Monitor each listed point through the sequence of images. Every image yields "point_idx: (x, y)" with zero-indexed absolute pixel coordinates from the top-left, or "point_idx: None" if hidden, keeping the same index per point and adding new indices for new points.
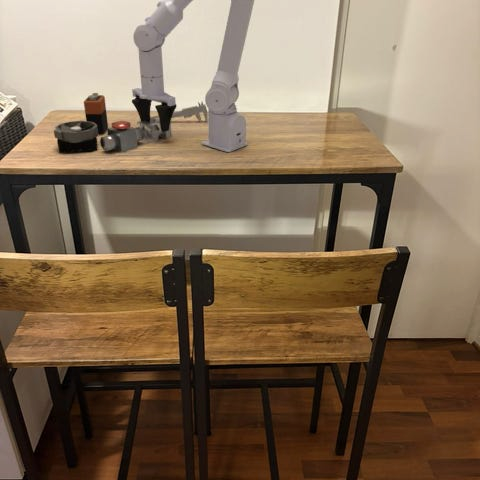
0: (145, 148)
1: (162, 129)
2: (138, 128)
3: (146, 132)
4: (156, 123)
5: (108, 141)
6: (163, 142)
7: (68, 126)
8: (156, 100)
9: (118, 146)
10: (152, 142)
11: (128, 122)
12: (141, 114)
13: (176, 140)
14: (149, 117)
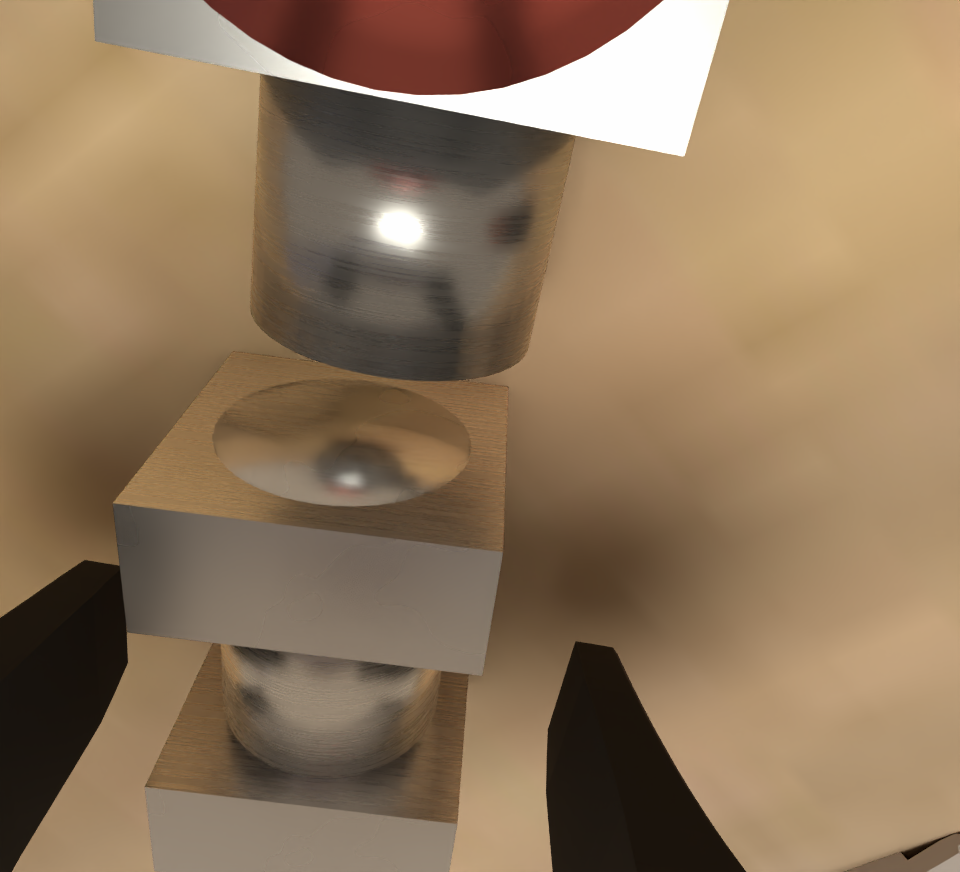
0: (115, 61)
1: (59, 578)
2: (323, 307)
3: (337, 438)
4: (285, 705)
5: None
6: (135, 445)
7: None
8: None
9: None
10: (242, 355)
11: (305, 17)
12: (616, 805)
13: None
14: (554, 837)
